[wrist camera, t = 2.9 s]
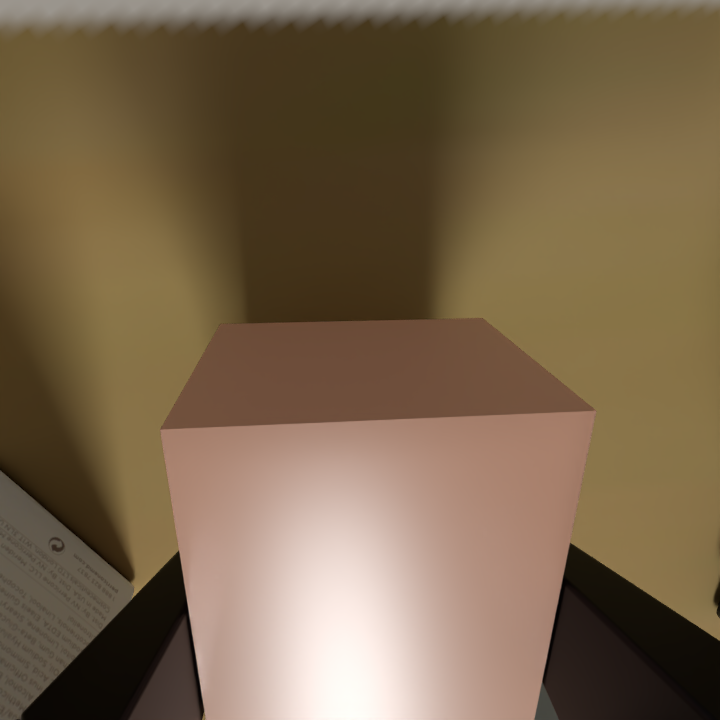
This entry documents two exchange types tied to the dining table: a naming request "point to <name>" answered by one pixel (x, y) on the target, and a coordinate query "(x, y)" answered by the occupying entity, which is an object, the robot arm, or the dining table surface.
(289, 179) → the dining table surface
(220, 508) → the terracotta brick
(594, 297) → the dining table surface
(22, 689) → the small box
